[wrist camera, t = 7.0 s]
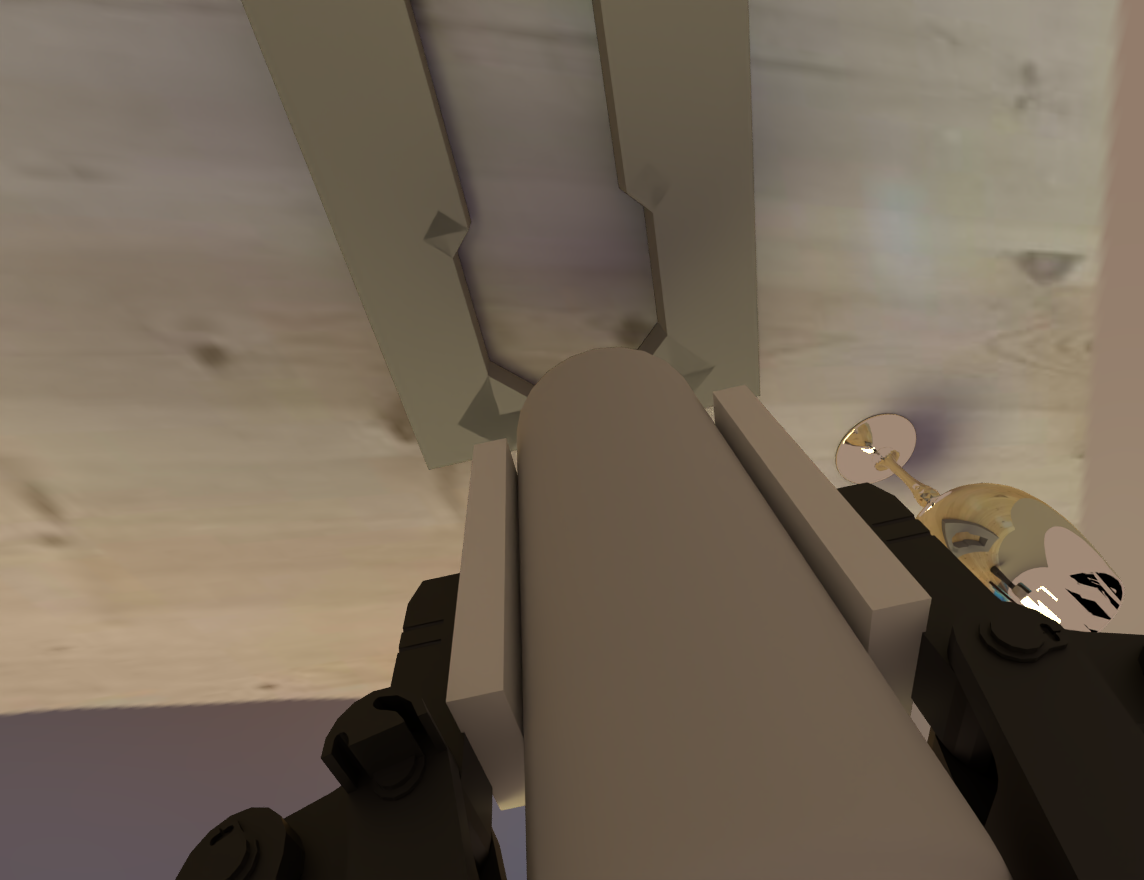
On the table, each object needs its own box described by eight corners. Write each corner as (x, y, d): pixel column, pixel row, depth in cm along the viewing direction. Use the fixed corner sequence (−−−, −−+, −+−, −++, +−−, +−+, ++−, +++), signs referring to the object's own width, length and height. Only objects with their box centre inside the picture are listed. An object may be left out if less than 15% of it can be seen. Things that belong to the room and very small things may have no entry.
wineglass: (836, 507, 33) (987, 688, 22) (812, 432, 30) (973, 600, 20) (934, 465, 32) (1138, 633, 22) (918, 384, 29) (1145, 532, 19)
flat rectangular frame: (163, -249, 16) (126, -287, 15) (712, -383, 16) (735, -437, 14) (433, 450, 28) (428, 469, 27) (746, 380, 28) (760, 395, 26)
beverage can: (685, 320, 14) (1173, 887, 4) (698, 477, 17) (1014, 1083, 6) (497, 359, 14) (461, 1027, 4) (537, 510, 17) (583, 1168, 6)
